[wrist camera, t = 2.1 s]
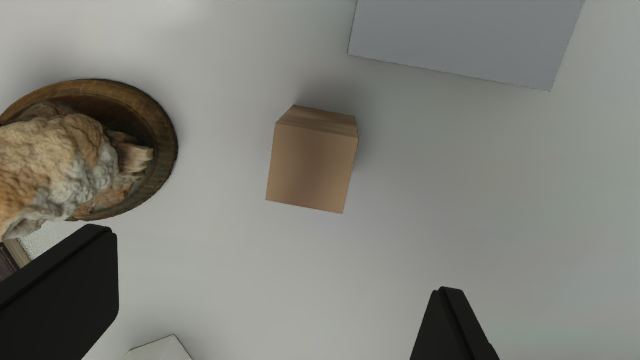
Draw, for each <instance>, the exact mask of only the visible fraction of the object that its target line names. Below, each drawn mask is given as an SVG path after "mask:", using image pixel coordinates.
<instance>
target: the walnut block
mask: <svg viewBox="0 0 640 360" xmlns="http://www.w3.org/2000/svg"><path fill="white" fill-rule="evenodd" d="M358 139H359V138H358V133H357V127H356V122H355V117H354V116H350V115H344V114H339V113H333V112H328V111H322V110H317V109H311V108H306V107H301V106H295V105H293V106H292V107H291V108H290V109H289V110H288V111H287V112H286V113H285V114H284V115H283V116H282V117H281V118H280V119H279V120H278V121H277V122H276V124H275V131H274V139H273V146H272V154H271V162H270V169H269V177H268V184H267V192H266V199H265V200H269V201H274V202H280V203H285V204H291V205H296V206H302V207H307V208H313V209H318V210H323V211H329V212H334V213H340V214H343V209H344V204H345V200H346V195H347V190H348V186H349V181H350V176H351V172H352V167H353V162H354V158H355V153H356V148H357V144H358Z"/></svg>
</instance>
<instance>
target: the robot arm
mask: <svg viewBox="0 0 640 360" xmlns="http://www.w3.org/2000/svg"><path fill="white" fill-rule="evenodd" d="M118 311H119V291H118V255H117V236H116V234H115V233H112V230H111V228H109V227H106V226H100V225H95V224H86V225H84V226H83V227H81V228H80V229H78V230H77V231H75V232H74V233H72V234H71V235H69V236H68V237H66V238H65V239H64V240H62V241H61V242H59V243H58V244H56V245H55V246H53V247H52V248H50V249H49V250H47V251H46V252H44V253H43V254H41V255H40V256H38V257H37V258H35V259H34V260H32V261H31V262H29V263H28V264H26V265H25V266H23V267H22V268H20V269H19V270H18V271H16V272H15V273H13V274H12V275H10V276H9V277H7V278H6V279H4V280H3V281H1V282H0V360H81V359H82V358H83V357H84V356H85V354H86V353H87V352H88V351H89V350H90V349H91V347H92V346H93V345H94V344H95V343H96V341H97V340H98V339H99V338H100V337H101V336H102V334H103V333H104V332H105V331H106V330H107V328H108V327H109V326H110V325H111V324H112V323H113V321H114V320H115V318H116V316H117V314H118ZM410 360H500V359H499V357H498V355H497V353H496V351H495V350H494V348H493V346H492V345H491V344H490V343H489V342H488V340H487V338H486V336H485V334H484V332H483V330H482V328H481V326H480V324H479V322H478V320H477V318H476V316H475V314H474V312H473V310H472V308H471V306H470V304H469V302H468V300H467V298H466V296H465V295H464V293H463V291H462V290H460V289H455V288H449V287H444V286H441V287H440V288H439V289H438V291H437V290H433V292H432V294H431V296H430V299H429V302H428V305H427V308H426V311H425V314H424V317H423V320H422V323H421V326H420V329H419V332H418V335H417V338H416V341H415V344H414V347H413V351H412V354H411V357H410Z"/></svg>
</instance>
